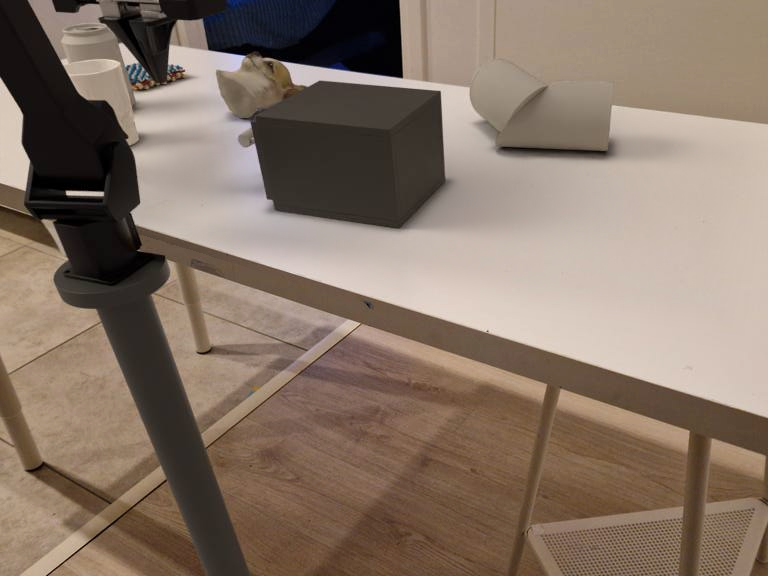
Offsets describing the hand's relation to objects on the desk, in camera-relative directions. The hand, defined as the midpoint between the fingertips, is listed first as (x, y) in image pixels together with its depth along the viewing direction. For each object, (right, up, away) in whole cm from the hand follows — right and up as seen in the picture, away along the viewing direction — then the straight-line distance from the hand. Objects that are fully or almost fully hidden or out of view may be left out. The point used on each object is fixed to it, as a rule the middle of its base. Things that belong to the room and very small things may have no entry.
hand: (161, 82), depth 81 cm
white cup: (-15, 0, +19) cm, 24 cm away
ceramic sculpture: (+3, +8, +29) cm, 31 cm away
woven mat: (-22, +19, +43) cm, 52 cm away
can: (-22, +9, +31) cm, 39 cm away
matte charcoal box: (+22, -12, +3) cm, 26 cm away
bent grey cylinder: (+44, 0, +18) cm, 47 cm away
